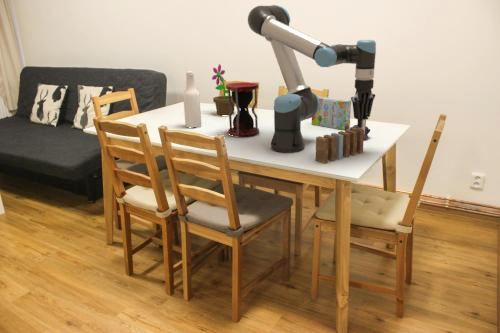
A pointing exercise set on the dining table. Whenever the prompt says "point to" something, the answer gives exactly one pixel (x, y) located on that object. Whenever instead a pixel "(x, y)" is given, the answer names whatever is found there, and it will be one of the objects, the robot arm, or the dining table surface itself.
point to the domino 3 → (338, 145)
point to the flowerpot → (222, 101)
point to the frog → (365, 131)
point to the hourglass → (242, 109)
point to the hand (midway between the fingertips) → (361, 134)
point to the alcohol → (191, 102)
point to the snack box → (333, 113)
